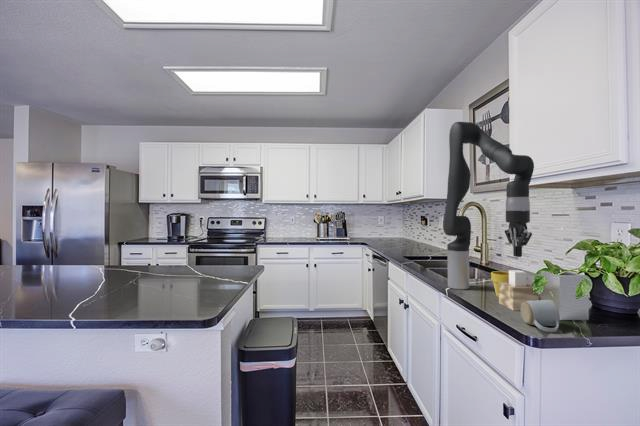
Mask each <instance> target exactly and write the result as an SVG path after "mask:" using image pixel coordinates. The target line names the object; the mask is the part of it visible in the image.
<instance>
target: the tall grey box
mask: <svg viewBox="0 0 640 426" xmlns="http://www.w3.org/2000/svg"><path fill="white" fill-rule="evenodd" d="M547 271H548V270H544V271H543V270H542V271H539V272H540V275H542V276H544V277H545V278H546V279H547V280H548V282H547V283H546V284H545V289H544V291H543V292H542V293H541V292H540V300H552V301H553V302H554V303H555V304H556V306H557V308H558V310H559V313H560V321H581V320H582V321H585V320H586V321H588V320H589V318H590V317H589V295H588V296H586V297H583V298H580V299H576V298H578V297H575V295H577V293H576V291H575V290H576V288H577V286H578V284H580V282H581V281H582V280H584V279H588V280H589V276H588V275H584V274H581V273H576V272H572V271H568V272H566V273H564V274H563V275H558V274H554V273H550V272H547ZM550 291H551V292H552V294H553V297H552V296H551V294H550Z"/></svg>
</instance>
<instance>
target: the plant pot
mask: <svg viewBox="0 0 640 426" xmlns="http://www.w3.org/2000/svg"><path fill="white" fill-rule="evenodd" d="M490 278H491V281H492V283H493V288H494V291H495V296H496V297H497V298H499V282H509V271H502V270H498V271H497V270H496V271H491V272H490Z"/></svg>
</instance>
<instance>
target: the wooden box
mask: <svg viewBox="0 0 640 426" xmlns="http://www.w3.org/2000/svg"><path fill="white" fill-rule="evenodd" d="M533 286H534V285H532V284H530V283H527V282H526V287H514V286H512V285H509V282H499V297H498V303H499V304H500V305H502V306H504V307H505V308H508V309H509V310H512V311H521V304H522V303H523V302H526V301H536V300H540V298H539V297H540V296H539V295H540V294H538V293H533V292H534V291H533Z"/></svg>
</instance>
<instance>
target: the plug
mask: <svg viewBox="0 0 640 426" xmlns="http://www.w3.org/2000/svg"><path fill="white" fill-rule="evenodd" d="M508 272H509V285H512V286H514V287H526V283H527V281H528V276H527V272H526V271H523V270H518V269H516V270H515V269H514V270H513V269H510V270H508Z"/></svg>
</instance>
